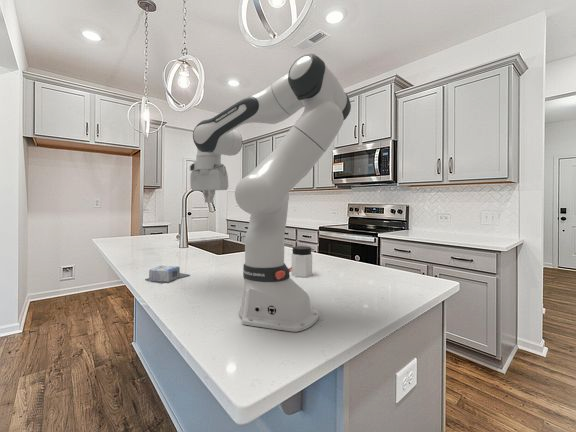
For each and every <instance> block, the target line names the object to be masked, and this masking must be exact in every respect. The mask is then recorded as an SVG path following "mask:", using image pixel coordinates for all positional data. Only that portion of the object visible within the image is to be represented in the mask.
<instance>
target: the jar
mask: <svg viewBox="0 0 576 432" xmlns="http://www.w3.org/2000/svg"><path fill="white" fill-rule="evenodd" d="M291 251H292V253H291V267H292V269H291V270H292V271H291V275H292V276H293V277H295V278H309V277H311V276H313V253H312V247H311V246H303V245H299V246H298V245H296V246H293V247H292V250H291Z"/></svg>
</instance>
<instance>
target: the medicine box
mask: <svg viewBox="0 0 576 432" xmlns="http://www.w3.org/2000/svg"><path fill="white" fill-rule="evenodd" d="M180 269H181V267H180V266H175V265H160V266H156V267H154V268H153V267H152V268H150V269H149V271H148V272H149V273H148V275H149V276H148V278H149V280H150V281H149V282H152V281H163V282H166V283H169V281H170V282H172V281H171V280H173V279H176V278H178V277H180V273H181V270H180ZM173 281H174V280H173Z"/></svg>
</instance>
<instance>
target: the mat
mask: <svg viewBox="0 0 576 432" xmlns="http://www.w3.org/2000/svg"><path fill="white" fill-rule="evenodd" d="M190 276H191V274H189V273H181V272H180V277H178V278H176V279H173V280H171V281H169V282H172V281H177V280H179V279H182V278H183V279H184V278H187V277H190ZM145 281H149V282H153V283H156V284H157V283H158V284H166V283H167V282H163V281H150V280H149V277H148V278H145ZM169 282H168V283H169Z"/></svg>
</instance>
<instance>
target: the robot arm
mask: <svg viewBox="0 0 576 432" xmlns="http://www.w3.org/2000/svg"><path fill="white" fill-rule="evenodd" d="M303 108H304V110H303V113H302V114H301V115H300V116H299V118H298V119H297V120H296V122H295V123H293V126H292V127H290V129H289V130H288V131H287V133H286V134H285V136H284V137H283V138H282V139H281V141H280V142H279V143H278V145H277V146H276V147H275V148H274V150H272V152H270V154H268V155H267V157H265V158H264V159H263V160H262V161H261V162H260V163H259V164H258V165H257V166H255V168H254V169H253V170H252V171H251V172H250V173H249V174H248V175H246V176H244V177H242V179H240V180H239V182H238V183H237V184H236V187H235V189H234V197H235V202H236V203H237V205H238V207H239V208H240V209H241V210H242V211H244V212H246V213H248V214H249V215H250V217H249V222H248V227H247V230H246V233H245V236H244V264H243V269H242V270H243V271H242V274H243V281H244V282H243V283H244V285H243V294H242V300H241V305H240V309H239V312H238V315H239V317H240V318H241V319H242V321H241V323H242V325H245V326H252V327H256V328H257V327H258V328H264V329H272V330H279V331H280V330H281V331H285V332H286V331H287V332H293V333H294V332H295V333H296V332H301V331H305V330H307V329H308V328H310V327H312V326H313V325H315V324H316V323H317V321H318V320H319V317H320V316H319V310H316V309H314V308H312V306H311V300H310V296H309V293H307V292H306V291H305V290H304V289H303V288H302V287H301V286H300V285H299V284H297V283H296V282H295V281H294V280H293V278H291V276H290V275H291V274H290V273H292V266H291V267H288V266H287V265H286V263H285V235H286V234H285V233H286V226H287V217H288V210H289V209H288V208H289V199H290V192H291V191H292V189H293V188H294V187H296V186H297V184H298V183H300V182H301V180H302V179H303V178H305V177H306V176H307V175H308V173H310V172H311V170H312V169H313V168H314V166H315V165H316V164H317V163H318V161H320V159H321V158H322V156H323V155H324V154H325V153H326V152H327V150H328V149H329V148H330V146H331V145H332V143H333V142H334V140H335V138H336V137H337V135H338V133H339V131H341V128H342V126H343V124H344V121H345V120H346V119H347V117H348V116H349V115H350V112H351V111H352V109H351V108H352V104H351V101H350V97H349V95H348V94H347V92H345V91H344V88H343V86H342V85H341V83H340V82H339V79H338V77H336V75H335V74H334V73H333V72H332V70H331V69H330V68H329V67H328V66H327V65H326V63H325V61H324V60H323V59H322V58H320V57H319V56H317V55H316V54H314V53H307V54H306V53H305V54H303V55H301V56H300V57H299V58H297V59H296V60H294V62H293V63H292V65H291V66H290V69H289V71H288V73H286V74H285V75H282V76H281V77H280V78H278V79H276V80H275V81H274V82H273V83H272V84H270V85H268V86H267V87H266V88H265V89H263V90H261V91H259V92H258V93H255V94H253V95H250V96H248V97H245V98H243V99H241V100H239V101H238V102H235V103H234V104H232V105H231V106H229V107H228V108H226V109H225V110H223V111H221V112H220V113H218V114H217V115H215V116H214V117H211V118H209V119H204V120H202V121H200V122H199V123H197V125H196V126H194V127H195V128H193V129H194V130H193V133H192V140H193V143H194V145H195V146H196V149H197V153H196V155H195V157H196V158H195V160H194V162H193V163H192V164H191V165H189V171H190V176H189V177H190V183H189V184H190V189H191V191H195V192H196V191H197V192H198V191H199V192H201V191H202V195H203V199H204V203H209V204H210V203H211V204H212V203H214V197H215V194H216V191H228V189H229V178H228V177H229V175H228V171H227V168H226V166H225V165H224V164H223V163H222V159H221V157H222V155H223V156H236V155H237V154H239V153H240V151H241V149H242V147H243V137H242V133H240V132H239V131H238V130H236V129H237V128H239V127H240V126H242V125H246V124H249V123H250V124H252V123H259V124H269V125H276V124H278V123H280V122H283V121H285V120H287V119H289V118H290V117H291V116H293V115H294V114H296V113H297V112H298V111H299V110H302V109H303Z"/></svg>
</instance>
